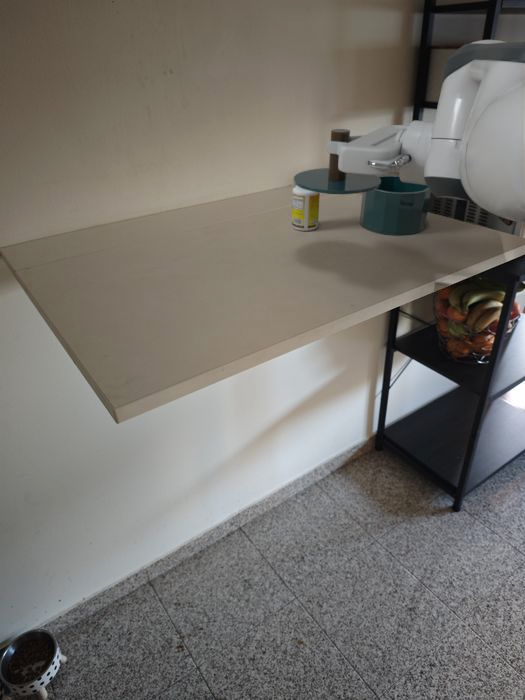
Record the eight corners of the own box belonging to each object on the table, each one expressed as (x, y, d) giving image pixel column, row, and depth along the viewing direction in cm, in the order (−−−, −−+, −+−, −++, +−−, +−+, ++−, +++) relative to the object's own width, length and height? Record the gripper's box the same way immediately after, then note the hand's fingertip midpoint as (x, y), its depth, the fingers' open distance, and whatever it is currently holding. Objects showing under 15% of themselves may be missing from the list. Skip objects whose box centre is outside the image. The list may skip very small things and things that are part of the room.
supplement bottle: (318, 223, 108) (320, 174, 102) (317, 232, 103) (320, 182, 98) (292, 222, 109) (293, 174, 103) (290, 231, 104) (292, 181, 98)
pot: (426, 217, 111) (433, 178, 106) (422, 238, 100) (430, 196, 96) (364, 211, 115) (369, 173, 110) (355, 231, 104) (359, 190, 99)
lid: (384, 177, 88) (391, 125, 84) (374, 201, 77) (381, 141, 72) (304, 171, 92) (306, 121, 87) (283, 193, 80) (284, 136, 76)
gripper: (394, 191, 70) (305, 178, 75) (432, 161, 84) (355, 152, 90) (401, 143, 66) (307, 133, 72) (439, 120, 81) (359, 114, 87)
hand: (334, 143), depth 81 cm, fingers closed on lid, 3 cm apart
